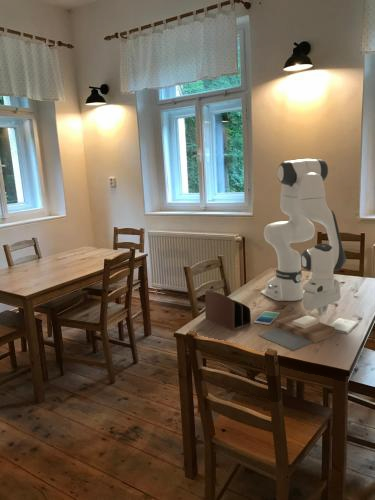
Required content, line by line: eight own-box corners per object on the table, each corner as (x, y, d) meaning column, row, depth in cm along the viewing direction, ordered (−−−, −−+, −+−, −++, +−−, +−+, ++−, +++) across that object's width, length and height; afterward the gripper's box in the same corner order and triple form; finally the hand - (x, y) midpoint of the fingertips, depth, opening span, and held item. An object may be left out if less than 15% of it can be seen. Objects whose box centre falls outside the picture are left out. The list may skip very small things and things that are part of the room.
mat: (258, 335, 164) (258, 334, 164) (277, 328, 170) (277, 327, 170) (293, 351, 149) (293, 350, 149) (312, 342, 155) (312, 341, 155)
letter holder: (233, 331, 170) (232, 299, 167) (205, 318, 186) (203, 288, 183) (251, 325, 175) (250, 294, 172) (222, 312, 191) (221, 284, 188)
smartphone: (280, 312, 186) (269, 324, 173) (280, 314, 186) (269, 326, 174) (264, 310, 190) (253, 321, 177) (264, 312, 190) (253, 323, 177)
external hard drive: (327, 330, 166) (338, 321, 175) (347, 335, 161) (358, 325, 170) (327, 327, 166) (338, 317, 175) (347, 331, 161) (358, 321, 170)
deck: (275, 327, 171) (275, 320, 170) (295, 320, 177) (295, 313, 177) (315, 343, 155) (315, 335, 154) (334, 334, 161) (334, 327, 160)
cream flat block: (292, 324, 166) (292, 320, 166) (307, 318, 171) (307, 315, 170) (304, 328, 161) (304, 325, 161) (319, 322, 166) (319, 319, 166)
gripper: (331, 277, 176) (331, 307, 179) (300, 287, 165) (300, 319, 168) (344, 279, 171) (344, 311, 174) (312, 290, 160) (312, 323, 163)
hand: (322, 315), depth 171 cm, fingers closed
